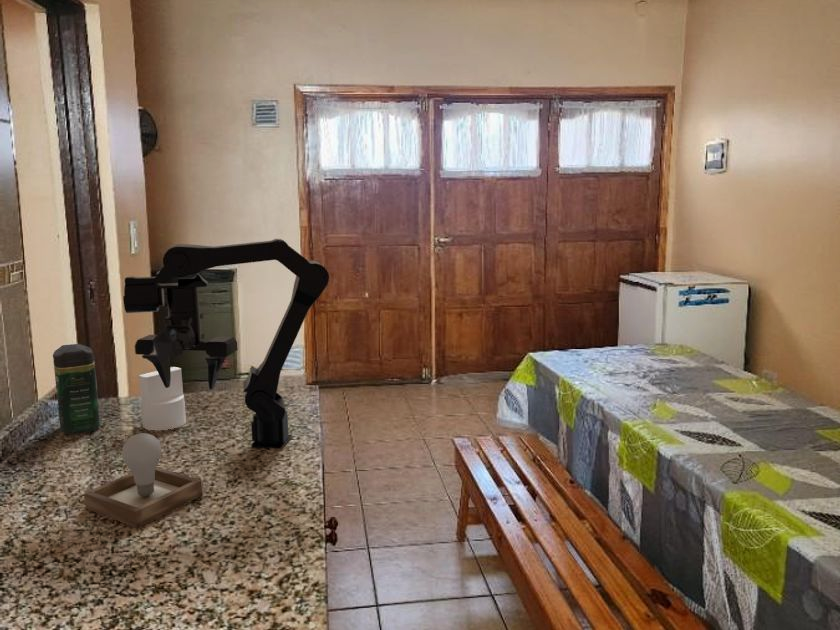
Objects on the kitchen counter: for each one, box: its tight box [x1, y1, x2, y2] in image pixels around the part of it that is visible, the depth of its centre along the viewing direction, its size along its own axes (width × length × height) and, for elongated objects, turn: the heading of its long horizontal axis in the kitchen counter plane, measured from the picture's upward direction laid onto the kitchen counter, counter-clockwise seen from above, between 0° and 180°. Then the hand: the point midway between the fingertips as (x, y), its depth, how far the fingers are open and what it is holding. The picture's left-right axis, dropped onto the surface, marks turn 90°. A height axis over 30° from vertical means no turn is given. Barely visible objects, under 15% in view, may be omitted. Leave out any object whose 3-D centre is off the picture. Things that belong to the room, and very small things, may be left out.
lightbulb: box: [121, 432, 163, 497], centre depth 113 cm, size 6×6×11 cm
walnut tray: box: [83, 466, 203, 529], centre depth 114 cm, size 13×13×3 cm
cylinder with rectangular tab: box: [138, 366, 187, 431], centre depth 151 cm, size 9×9×12 cm
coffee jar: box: [52, 343, 101, 435], centre depth 148 cm, size 10×8×19 cm
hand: (189, 388), depth 134 cm, fingers open, 9 cm apart
